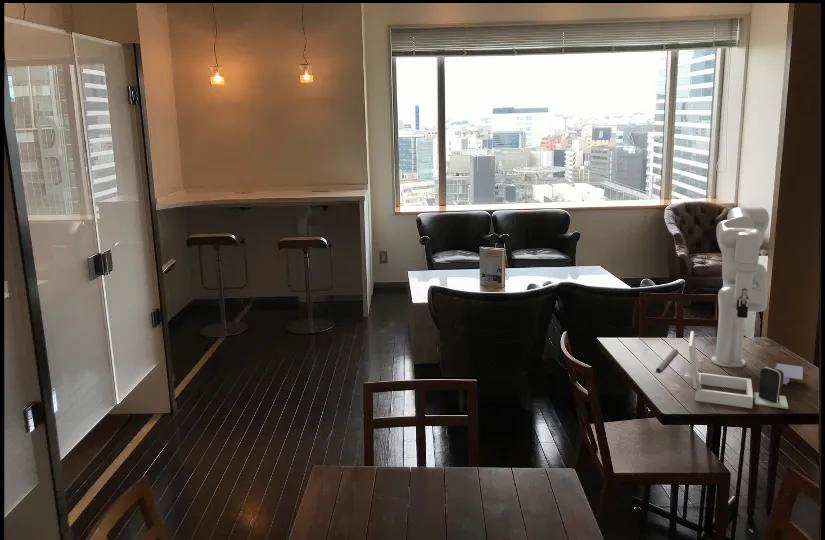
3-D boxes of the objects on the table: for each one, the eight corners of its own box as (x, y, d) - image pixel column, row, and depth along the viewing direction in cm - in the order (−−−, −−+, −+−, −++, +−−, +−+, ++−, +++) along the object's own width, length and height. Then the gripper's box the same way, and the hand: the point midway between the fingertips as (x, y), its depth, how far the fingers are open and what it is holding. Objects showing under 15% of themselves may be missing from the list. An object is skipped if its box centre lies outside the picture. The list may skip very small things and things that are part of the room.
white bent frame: (687, 381, 252) (690, 330, 247) (750, 389, 243) (755, 337, 239) (684, 399, 236) (688, 345, 231) (752, 408, 227) (757, 352, 223)
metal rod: (677, 353, 283) (678, 349, 282) (660, 373, 261) (661, 368, 260) (673, 352, 284) (673, 348, 283) (655, 372, 262) (656, 367, 261)
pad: (753, 393, 239) (753, 392, 239) (785, 397, 235) (785, 396, 235) (754, 404, 230) (755, 402, 230) (787, 408, 226) (788, 407, 226)
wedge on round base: (800, 379, 251) (761, 374, 257) (802, 362, 250) (763, 357, 256) (801, 388, 243) (761, 382, 249) (803, 370, 242) (763, 365, 248)
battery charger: (782, 401, 230) (786, 370, 228) (776, 403, 229) (779, 372, 226) (764, 394, 236) (767, 364, 234) (757, 396, 235) (760, 366, 232)
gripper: (733, 261, 244) (729, 306, 247) (734, 271, 228) (730, 319, 232) (756, 262, 241) (752, 308, 244) (759, 272, 225) (754, 321, 229)
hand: (741, 313), depth 238 cm, fingers open, 9 cm apart
